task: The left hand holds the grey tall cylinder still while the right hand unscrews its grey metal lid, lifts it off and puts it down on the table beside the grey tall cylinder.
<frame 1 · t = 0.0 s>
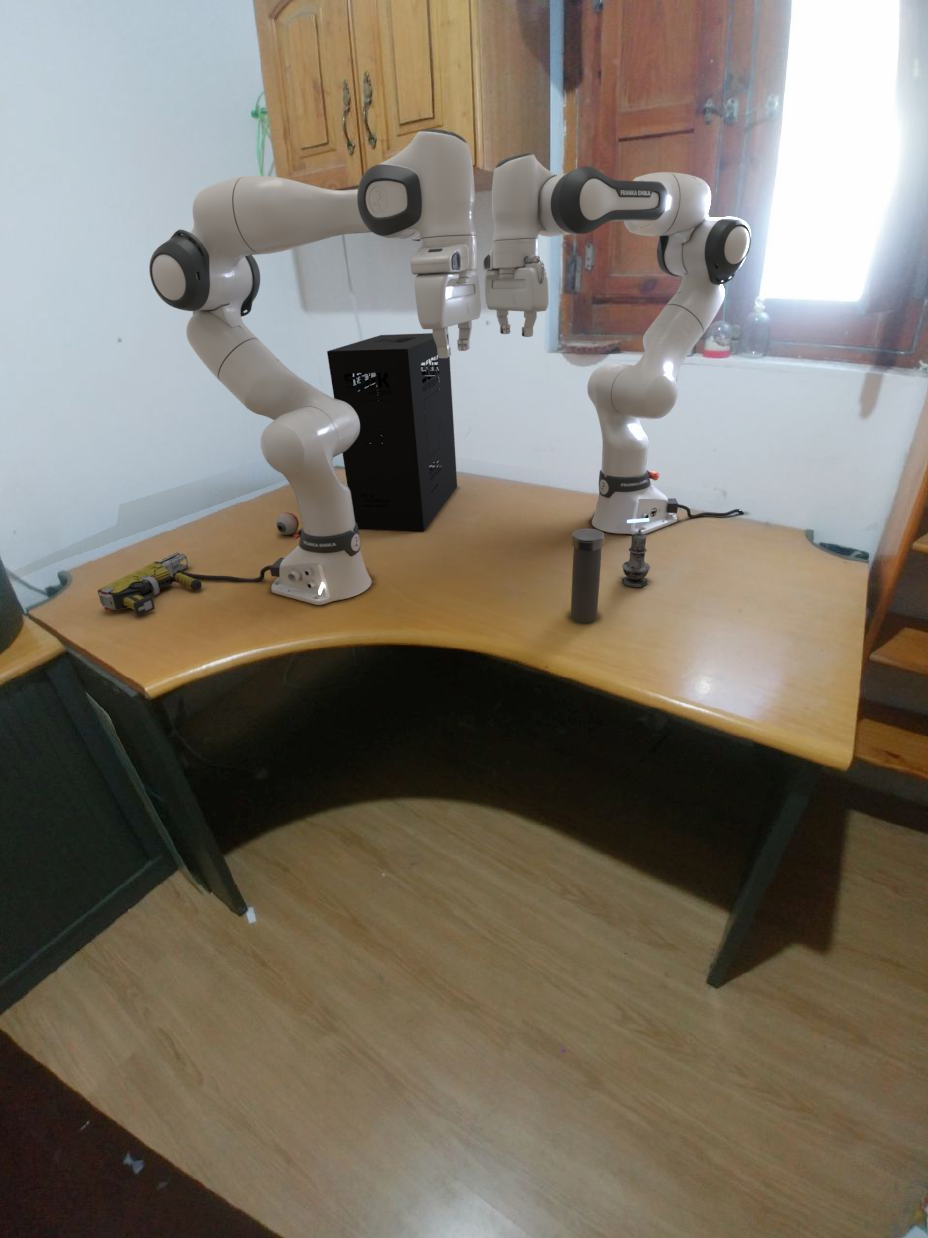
left hand: (454, 353, 102), 48 cm above the table, tool pointing down, fingers open, 8 cm apart
right hand: (516, 335, 125), 48 cm above the table, tool pointing down, fingers open, 8 cm apart
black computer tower: (409, 506, 180), on the table
dark grey chess piece: (634, 582, 130), on the table
toy gun: (167, 592, 138), on the table
eyeball: (289, 534, 165), on the table
grey tall cylinder: (583, 616, 119), on the table
lid: (588, 536, 110), point 17 cm above the table, screwed on, not yet turned
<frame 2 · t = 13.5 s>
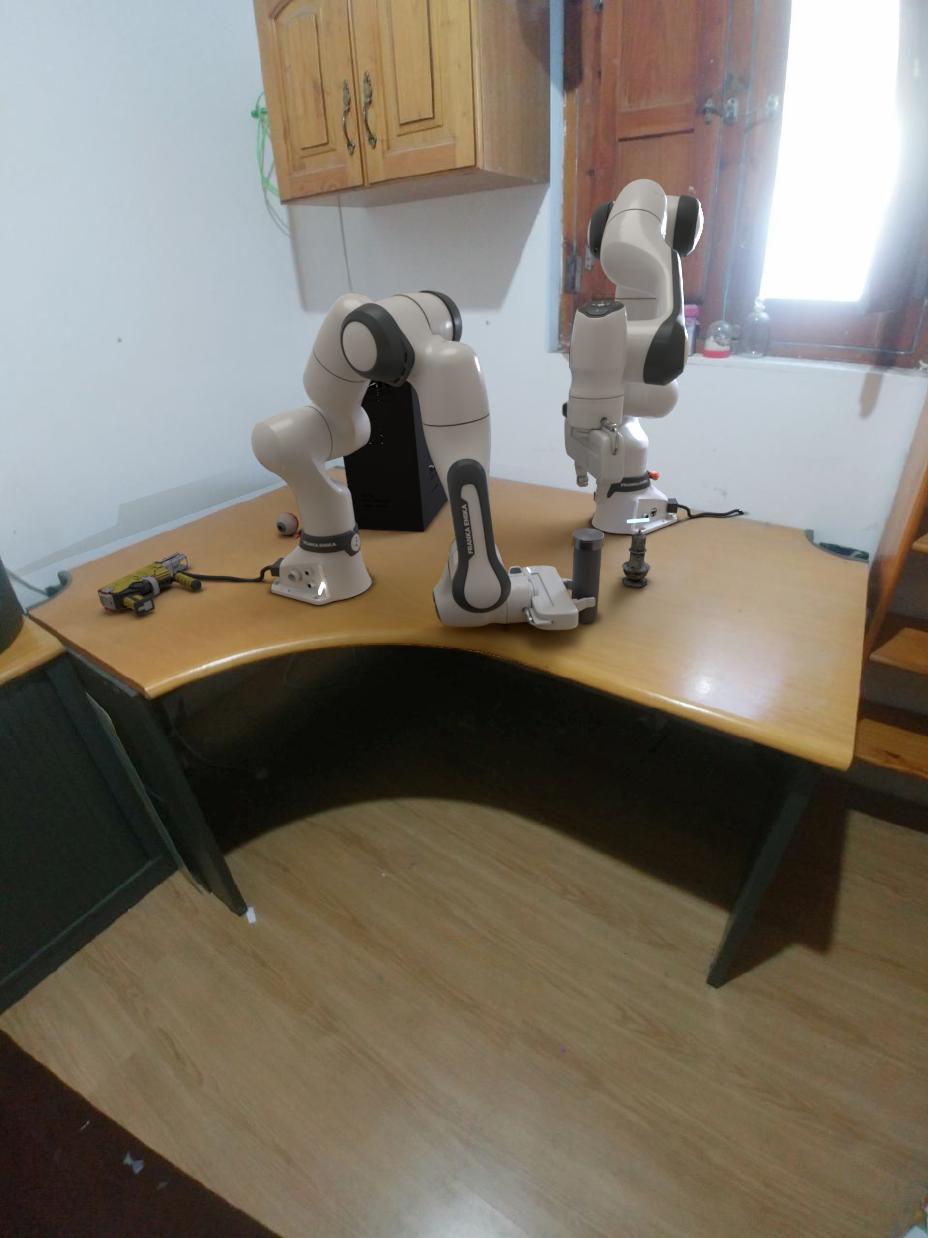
left hand: (589, 592, 116), 5 cm above the table, tool horizontal, fingers closed on grey tall cylinder, 5 cm apart
right hand: (590, 493, 106), 25 cm above the table, tool pointing down, fingers open, 8 cm apart
grey tall cylinder: (583, 616, 119), on the table, touching left hand
everything else where it was.
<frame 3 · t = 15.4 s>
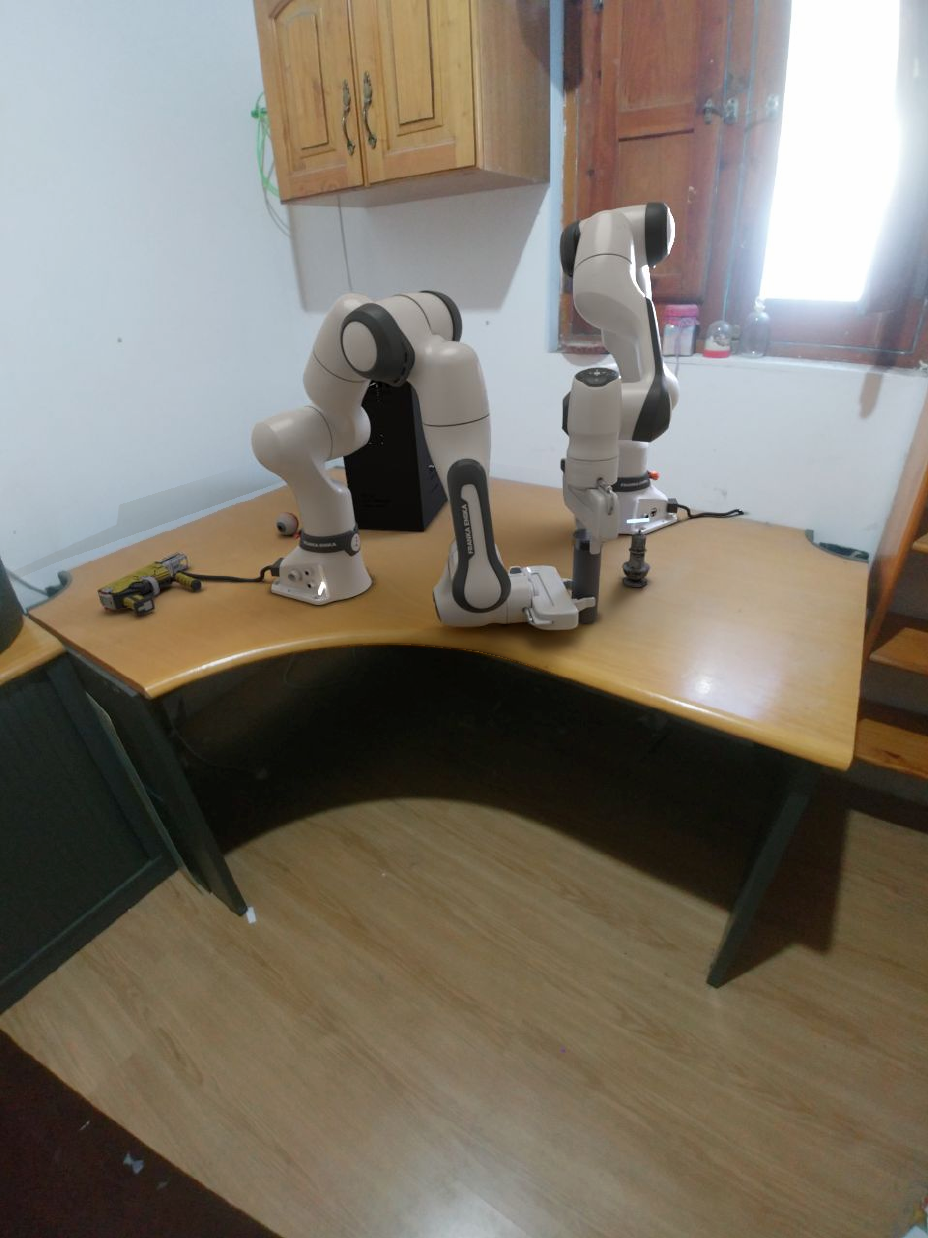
left hand: (589, 592, 116), 5 cm above the table, tool horizontal, fingers closed on grey tall cylinder, 5 cm apart
right hand: (587, 545, 111), 15 cm above the table, tool pointing down, fingers closed on lid, 5 cm apart
grey tall cylinder: (583, 616, 119), on the table, touching left hand
lid: (588, 536, 110), point 17 cm above the table, screwed on, not yet turned, touching right hand
everything else where it was.
when the right hand's fingers open (15 cm above the table, at t = 16.8 s): lid stays where it is, point 17 cm above the table.
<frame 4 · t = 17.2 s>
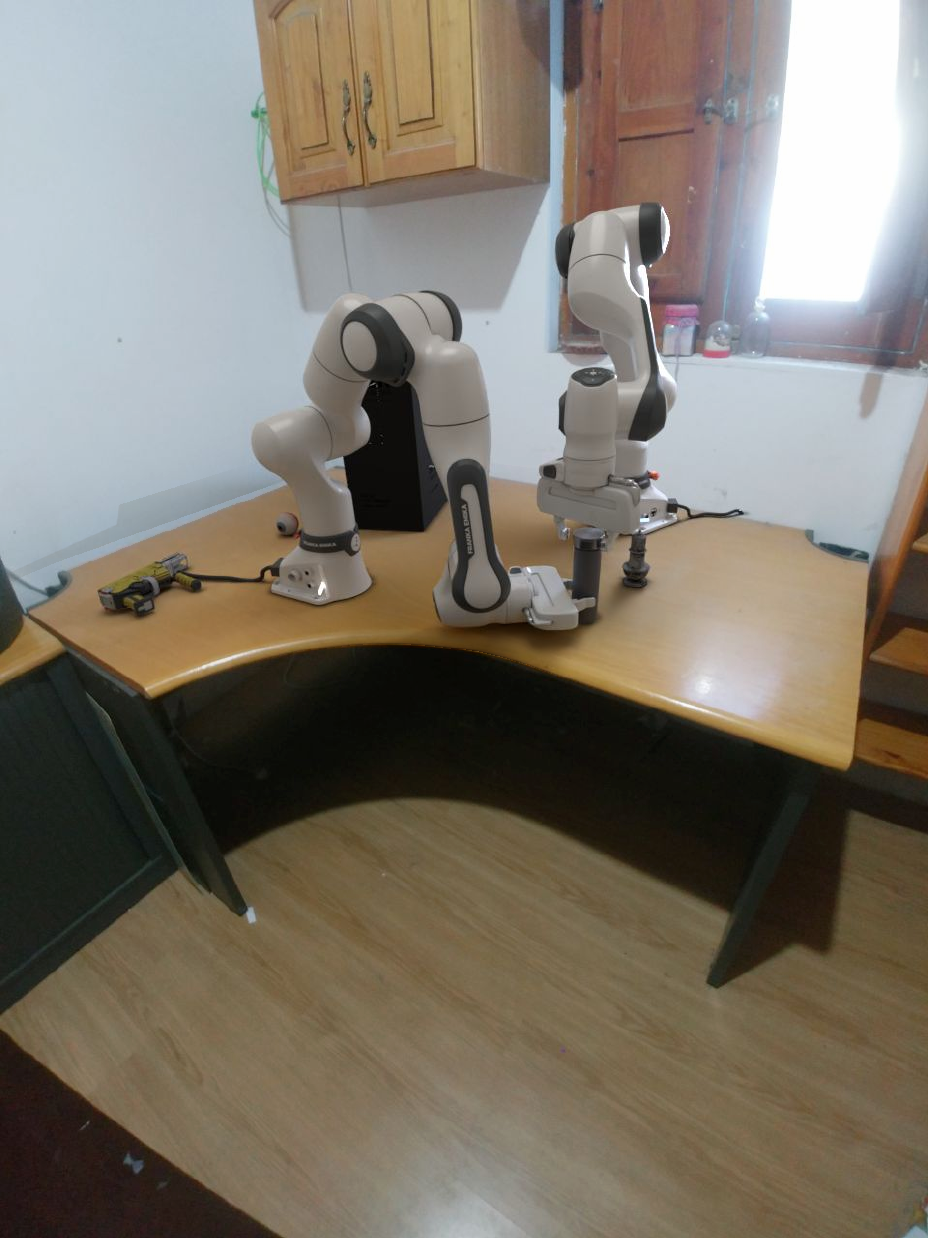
left hand: (589, 592, 116), 5 cm above the table, tool horizontal, fingers closed on grey tall cylinder, 5 cm apart
right hand: (584, 544, 111), 15 cm above the table, tool pointing down, fingers open, 8 cm apart
grey tall cylinder: (583, 616, 119), on the table, touching left hand
lid: (588, 535, 110), point 17 cm above the table, turned 66° so far, risen 0.2 cm, still on its thread
everything else where it was.
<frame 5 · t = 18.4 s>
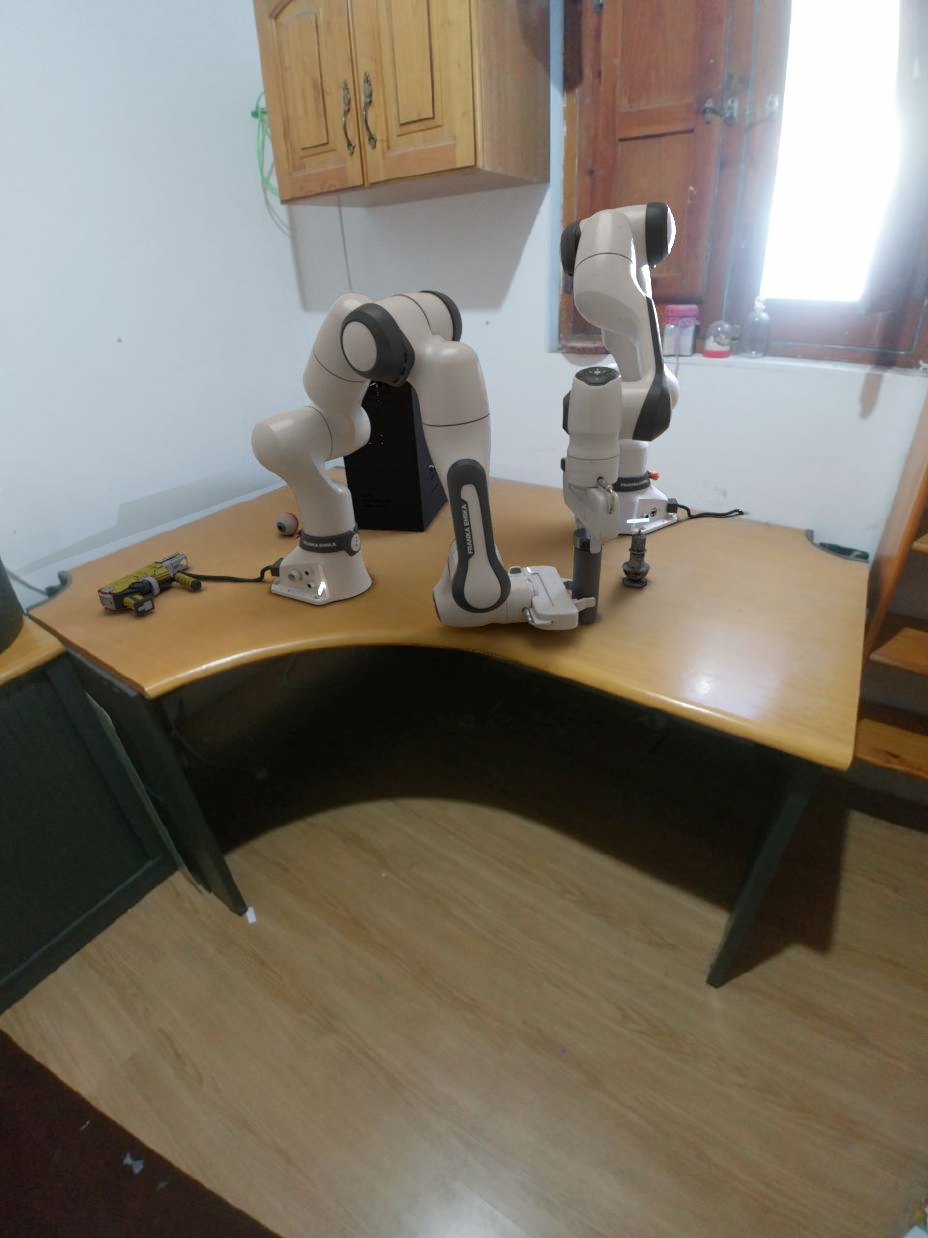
left hand: (589, 592, 116), 5 cm above the table, tool horizontal, fingers closed on grey tall cylinder, 5 cm apart
right hand: (587, 544, 111), 15 cm above the table, tool pointing down, fingers closed on lid, 5 cm apart
grey tall cylinder: (583, 616, 119), on the table, touching left hand
lid: (588, 534, 110), point 17 cm above the table, turned 66° so far, risen 0.2 cm, still on its thread, touching right hand
everything else where it was.
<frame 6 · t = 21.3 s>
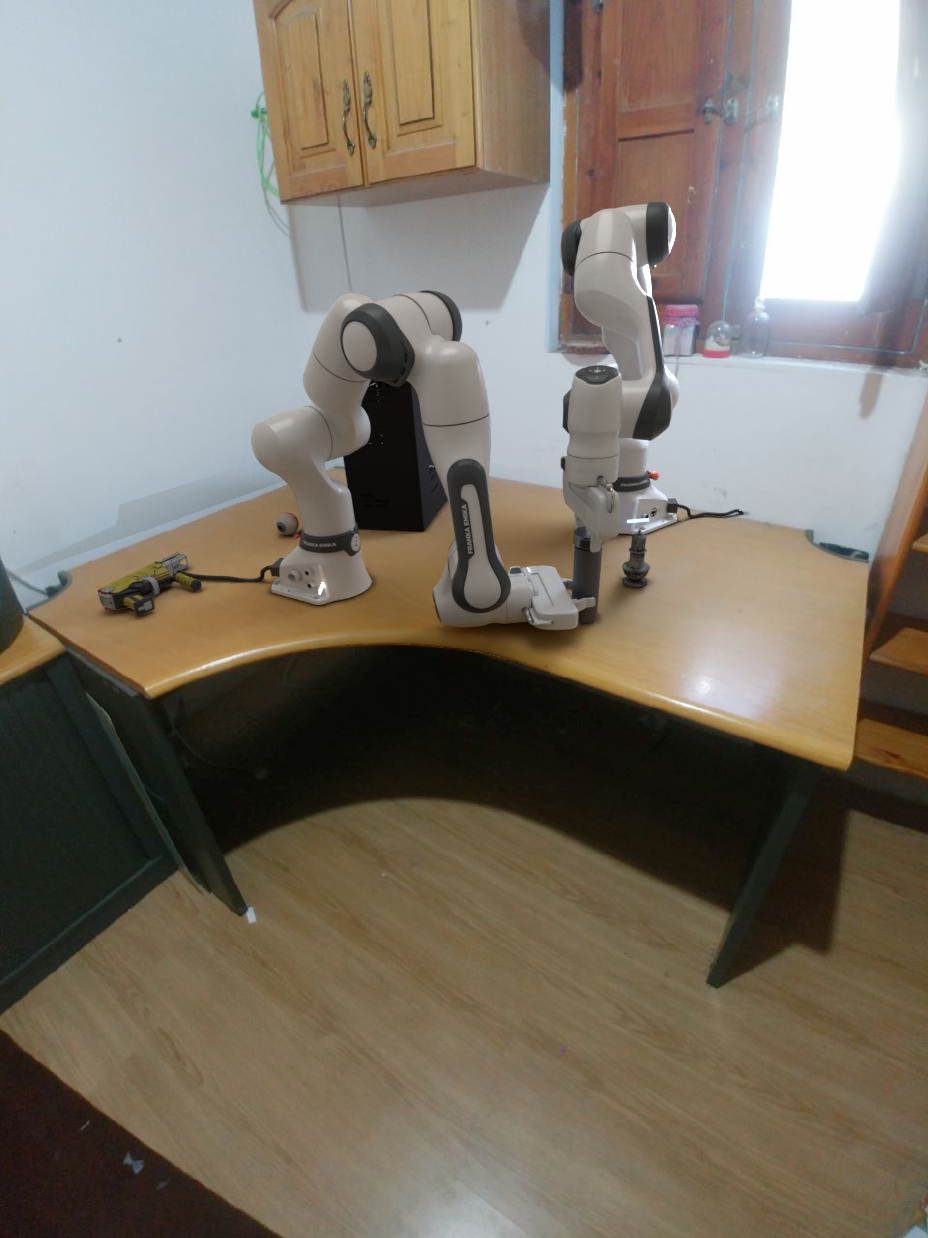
left hand: (589, 592, 116), 5 cm above the table, tool horizontal, fingers closed on grey tall cylinder, 5 cm apart
right hand: (587, 543, 111), 16 cm above the table, tool pointing down, fingers closed on lid, 5 cm apart
grey tall cylinder: (583, 616, 119), on the table, touching left hand
lid: (589, 533, 110), point 17 cm above the table, turned 131° so far, risen 0.4 cm, still on its thread, touching right hand
everything else where it was.
when the right hand's fingers open (2 cm above the table, at t = 27.8 s): lid drops 2 cm, point 2 cm above the table.
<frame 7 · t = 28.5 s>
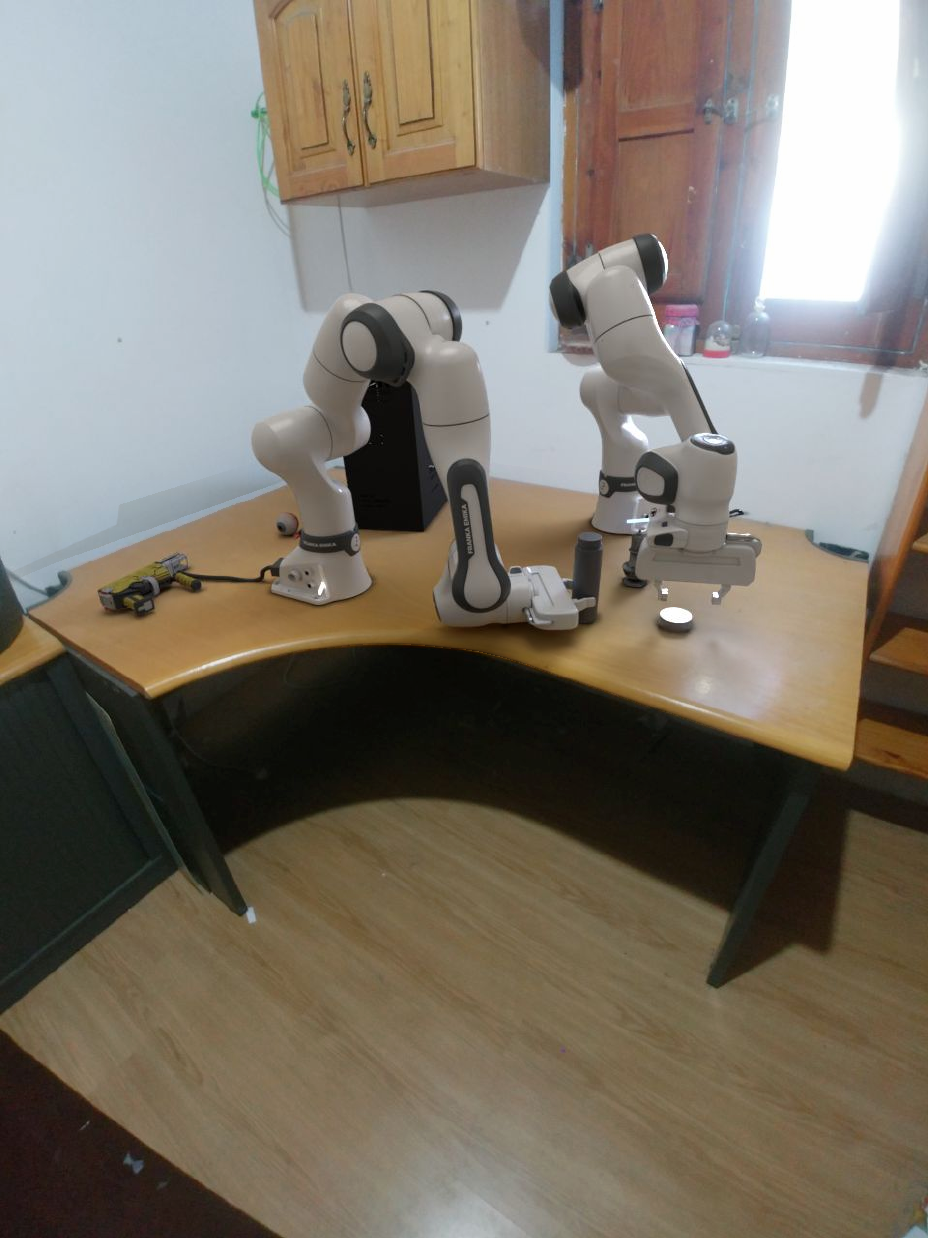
left hand: (589, 592, 116), 5 cm above the table, tool horizontal, fingers closed on grey tall cylinder, 5 cm apart
right hand: (688, 601, 112), 5 cm above the table, tool pointing down, fingers open, 8 cm apart
grey tall cylinder: (583, 616, 118), on the table, touching left hand
lid: (675, 616, 113), point 2 cm above the table, off its thread
everything else where it was.
when the left hand's fingers open (5 cm above the table, at t = 28.9 s): grey tall cylinder stays where it is, on the table.
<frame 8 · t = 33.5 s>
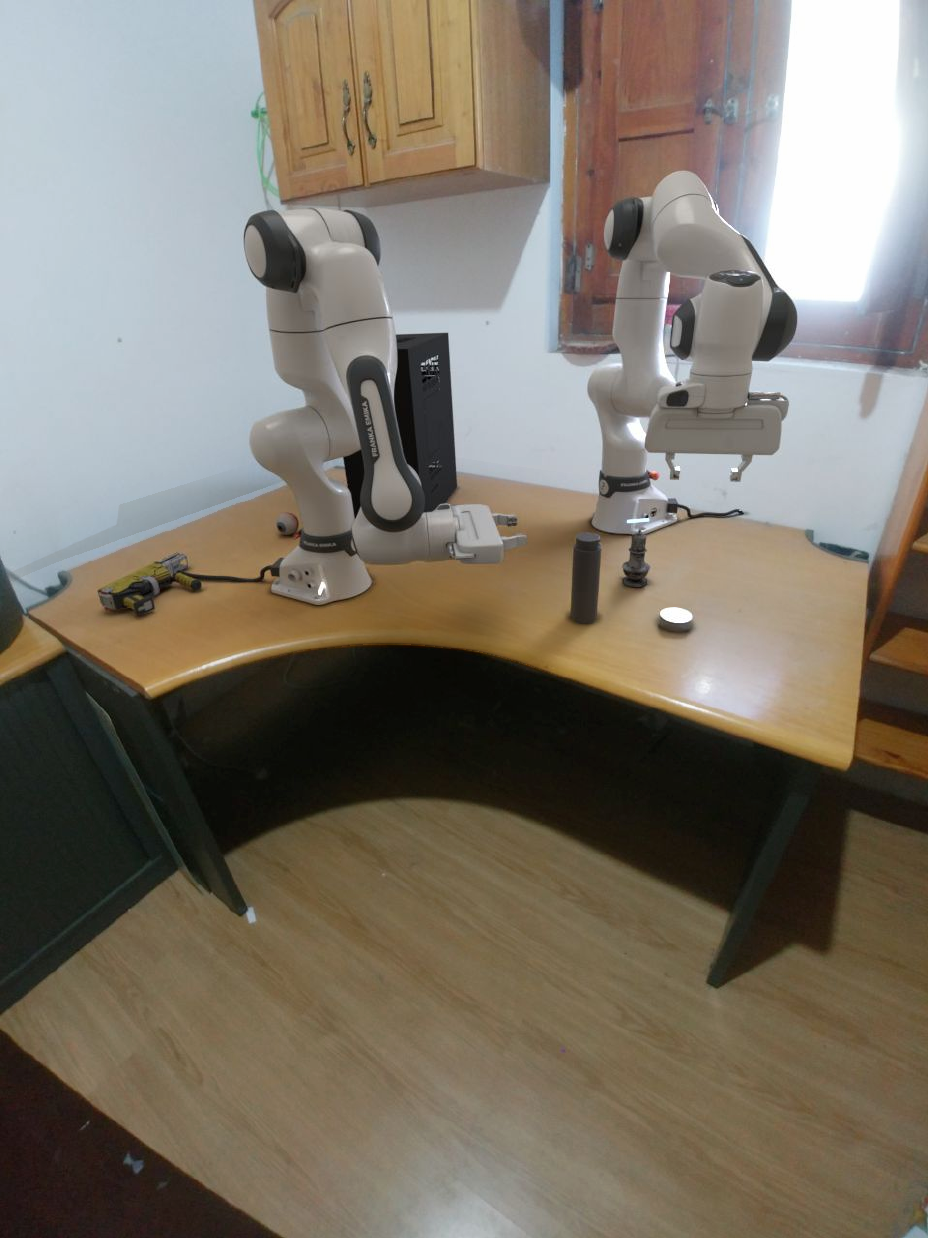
left hand: (521, 529, 108), 19 cm above the table, tool horizontal, fingers open, 8 cm apart
right hand: (704, 479, 100), 28 cm above the table, tool pointing down, fingers open, 8 cm apart
grey tall cylinder: (583, 617, 118), on the table
everything else where it was.
at the end: lid came off its thread; lid point 1.7 cm above the table; the left hand is holding nothing; the right hand is holding nothing; grey tall cylinder tilted 0°; grey tall cylinder moved 0.1 cm from its start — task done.
